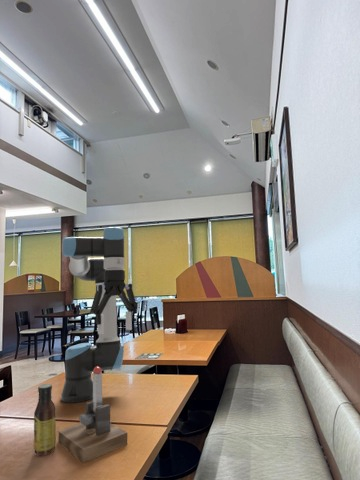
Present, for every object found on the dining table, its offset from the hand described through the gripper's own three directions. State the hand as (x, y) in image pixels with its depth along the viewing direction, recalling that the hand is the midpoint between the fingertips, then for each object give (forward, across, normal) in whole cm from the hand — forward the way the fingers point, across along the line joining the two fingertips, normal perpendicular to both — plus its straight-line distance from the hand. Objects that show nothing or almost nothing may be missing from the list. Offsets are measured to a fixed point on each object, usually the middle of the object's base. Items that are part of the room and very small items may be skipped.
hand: (115, 331), depth 116 cm
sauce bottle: (+34, -22, +6) cm, 41 cm away
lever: (+27, -9, 0) cm, 28 cm away
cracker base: (+34, -9, 0) cm, 35 cm away
